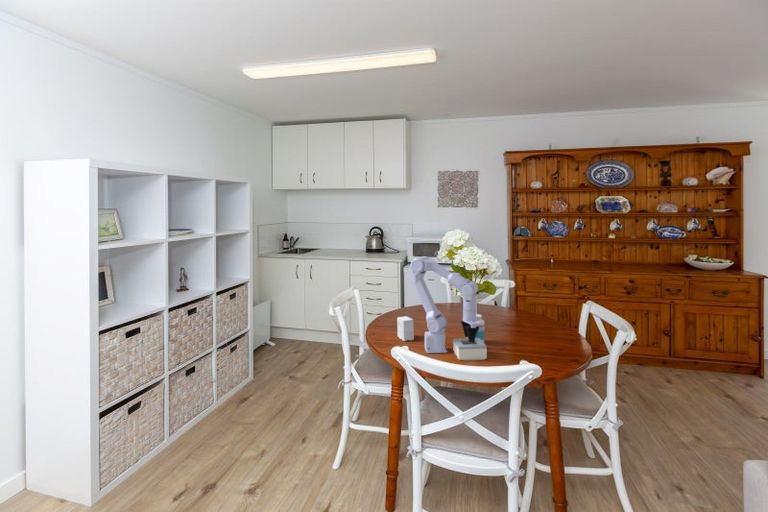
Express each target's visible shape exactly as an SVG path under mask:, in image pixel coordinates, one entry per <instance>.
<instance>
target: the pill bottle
mask: <svg viewBox="0 0 768 512" xmlns="http://www.w3.org/2000/svg"><path fill="white" fill-rule="evenodd" d="M476 318H478V319H479V321H477V322H476V327H479V330H478V331H477V333H476V337H475V338H480V339H481V340H482V342H483V343H484V344H485V328H486V327H485V325H486V322H485V320H484V319H483V315H482V314H481V313H476Z"/></svg>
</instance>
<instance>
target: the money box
mask: <svg viewBox="0 0 768 512" xmlns="http://www.w3.org/2000/svg"><path fill="white" fill-rule="evenodd" d="M452 341H453V343H452V344H453V345H452V347H453V348H452V350H453V351H454V352H453V354H454V355H455V356H457V357H456V358H457V360H458V359H459V360H463V361H486V360H485V359H487V352H488V351H487V349H488V347H487V344H486V343H485V342H484V343H483V342H482V340H481V339H480V338H475V341H474V342H469V339H468V337H464V338H459V337H458V338H453V339H452ZM463 344H470V345H463ZM459 360H458V361H459Z"/></svg>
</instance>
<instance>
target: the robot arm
mask: <svg viewBox="0 0 768 512" xmlns="http://www.w3.org/2000/svg"><path fill="white" fill-rule="evenodd" d="M409 269H410V280H411V283H412V285H413V287H414V290H415V291H416V293H417V294H416V295H417V296H418V298H419V300H420V302H421V304H422V307H423V310H424V311H425V313H426V315H425V316H426V317H425V320H426V325H427V326H426V327H427V329H428V331H425V332H424V350H425V352H426V353H427V354H436V353H437V354H439V353H440V354H441V353H442V354H443V353H448V350H447V348H446V329H445V328H446V327H447V325H448V320H447V317H445V315H443V313H442V312H441V311H440V310H439V309H438V308H437V306H436V303H435V301H434V299H433V297H432V295H431V292H430V290H429V288H428V286H427V284H426V281H425V279H424V277H425V274H426V273H427V272H430V271H431V272H434V273H435V274H437V275H439V276H441V277H443V278H444V279H446V280H447V283H448V284H449V285H451V286H452V287H454V288H455V289H457V290H458V291H460V292H461V294H462V296H463V298H462V302H463V303H462V320H460V323H461V325H462V329H463V334H464V338H468V339H469V342H474V341H475V337H476V333H477V331H478V330H479V327H476V322H477V321H479V319H478V318H476V314H477V292H478V291H479V285H478V283H476V282H475V281H474V280H470V279H469V278H466V277H463V275H461V273H460V272H451V271H449V270H448V269H446V268H445V267H443V266H442V265H441V264H439V263H438V262H436V261H435V260H434V259H432V258H430V257H429V256H426V255H425V256H424V255H423V256H420V257H416V258H414V259H412V260H411V262H410V265H409Z"/></svg>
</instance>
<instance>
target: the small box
mask: <svg viewBox="0 0 768 512" xmlns="http://www.w3.org/2000/svg"><path fill="white" fill-rule="evenodd" d="M396 320H397V321H396V322H397V324H396V325H397V326H396V327H397V338H398V337H399V339H400V340H401V339H402V340H401V341H403V342H408V341H407V340H409V341H414V339H415V335H414V331H415V330H414V326H415V324H414V319H413V318H411V317H409V316H407V315H405V316H399V317H397V318H396Z"/></svg>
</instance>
